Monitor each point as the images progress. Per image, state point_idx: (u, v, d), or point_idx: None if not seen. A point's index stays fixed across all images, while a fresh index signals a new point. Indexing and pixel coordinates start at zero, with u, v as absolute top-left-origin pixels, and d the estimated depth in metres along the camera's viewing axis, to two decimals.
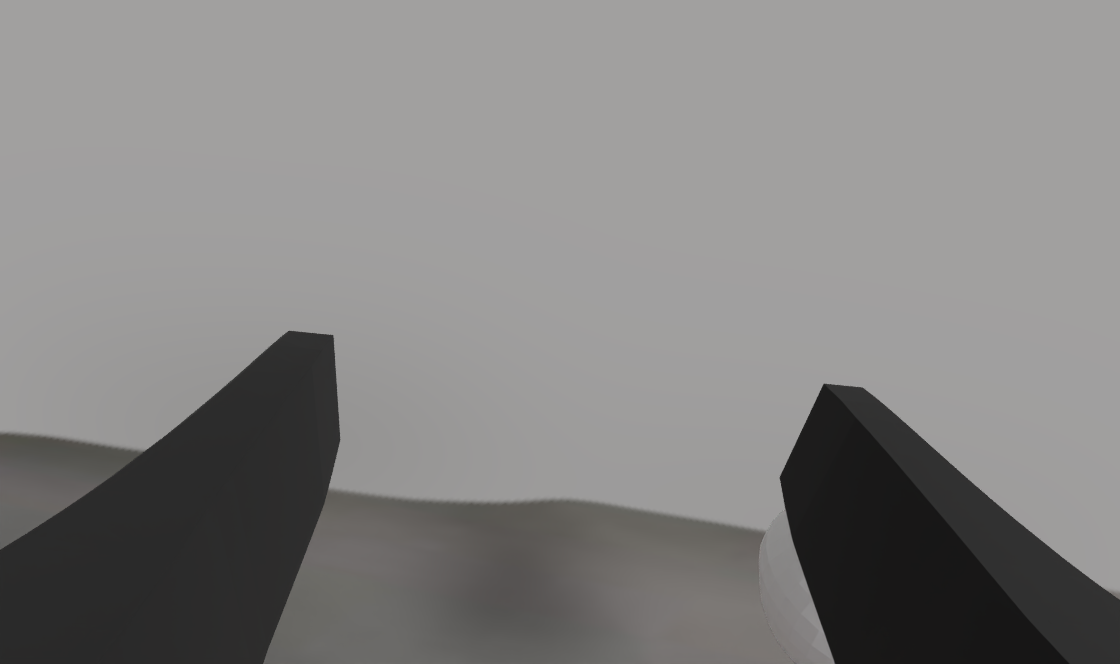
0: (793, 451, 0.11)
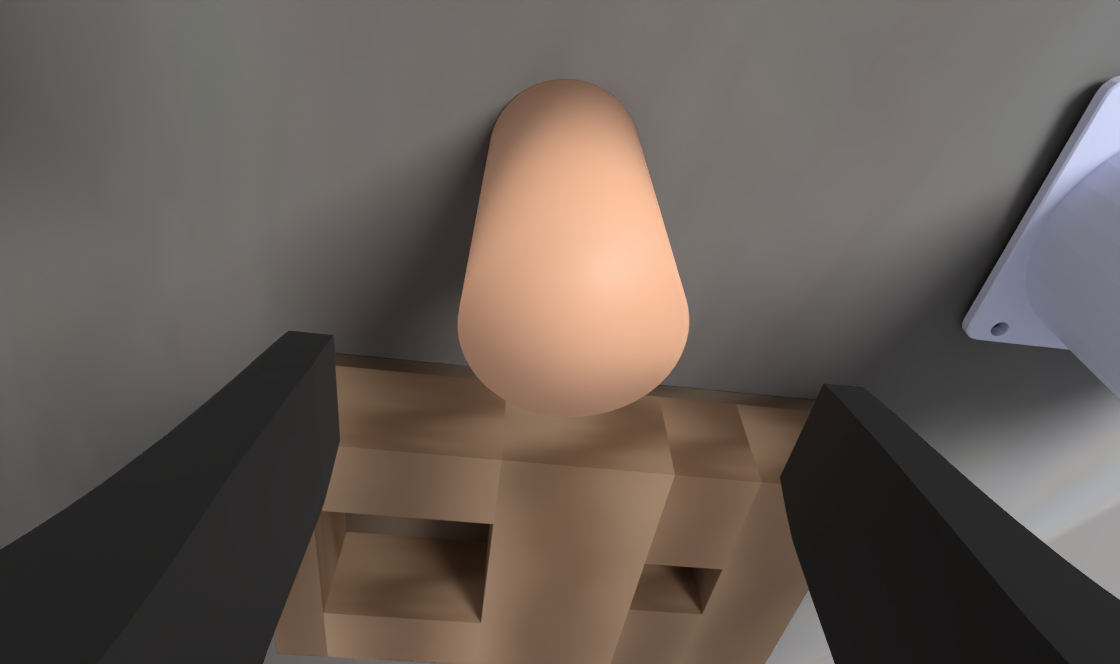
0: (793, 451, 0.11)
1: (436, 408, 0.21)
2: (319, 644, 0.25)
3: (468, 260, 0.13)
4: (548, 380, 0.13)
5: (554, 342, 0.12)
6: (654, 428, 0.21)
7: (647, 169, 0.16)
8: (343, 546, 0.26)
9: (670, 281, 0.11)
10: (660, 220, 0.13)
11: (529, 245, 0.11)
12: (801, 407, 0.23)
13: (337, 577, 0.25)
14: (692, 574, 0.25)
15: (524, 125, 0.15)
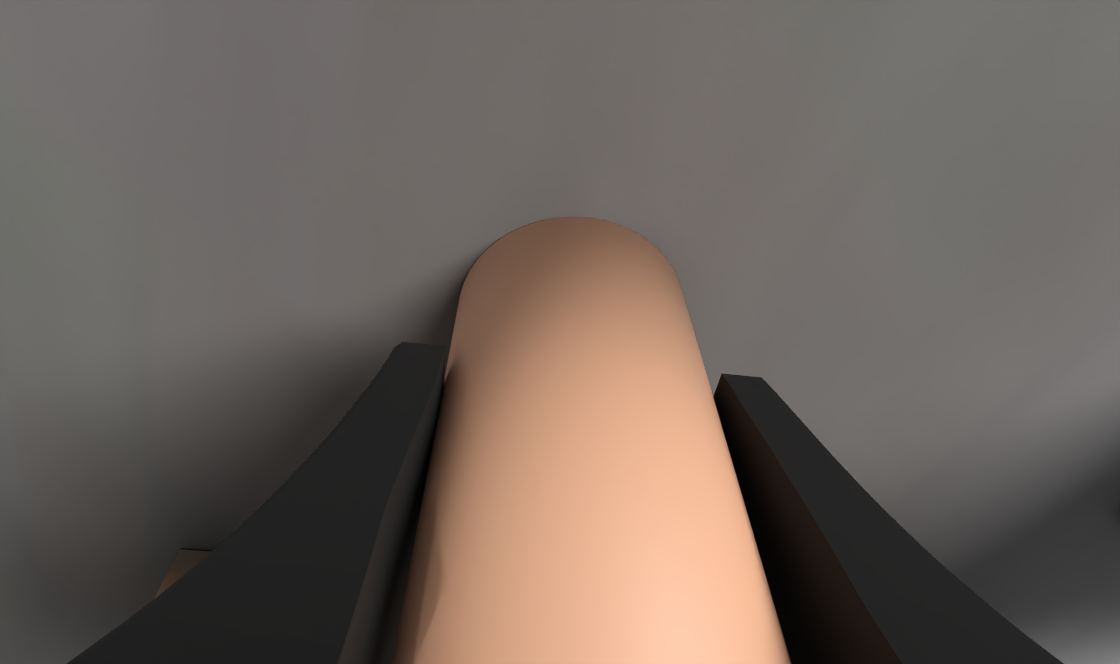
0: None
1: None
2: None
3: (393, 660, 0.07)
4: None
5: None
6: None
7: (710, 388, 0.10)
8: None
9: None
10: (756, 562, 0.07)
11: None
12: None
13: None
14: None
15: (506, 325, 0.09)
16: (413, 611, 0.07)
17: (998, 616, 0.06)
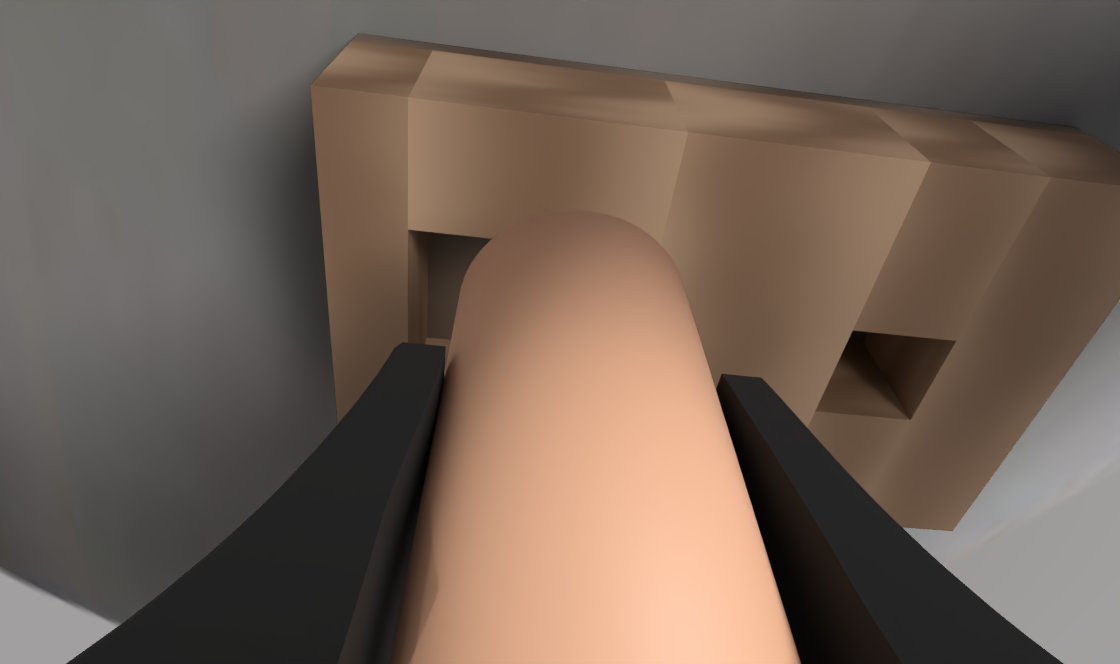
0: None
1: (579, 89, 0.15)
2: None
3: (393, 646, 0.07)
4: None
5: None
6: (878, 127, 0.15)
7: (712, 382, 0.10)
8: None
9: None
10: (762, 551, 0.07)
11: None
12: (1053, 129, 0.17)
13: None
14: (884, 380, 0.19)
15: (510, 313, 0.09)
16: (415, 596, 0.07)
17: (999, 616, 0.06)
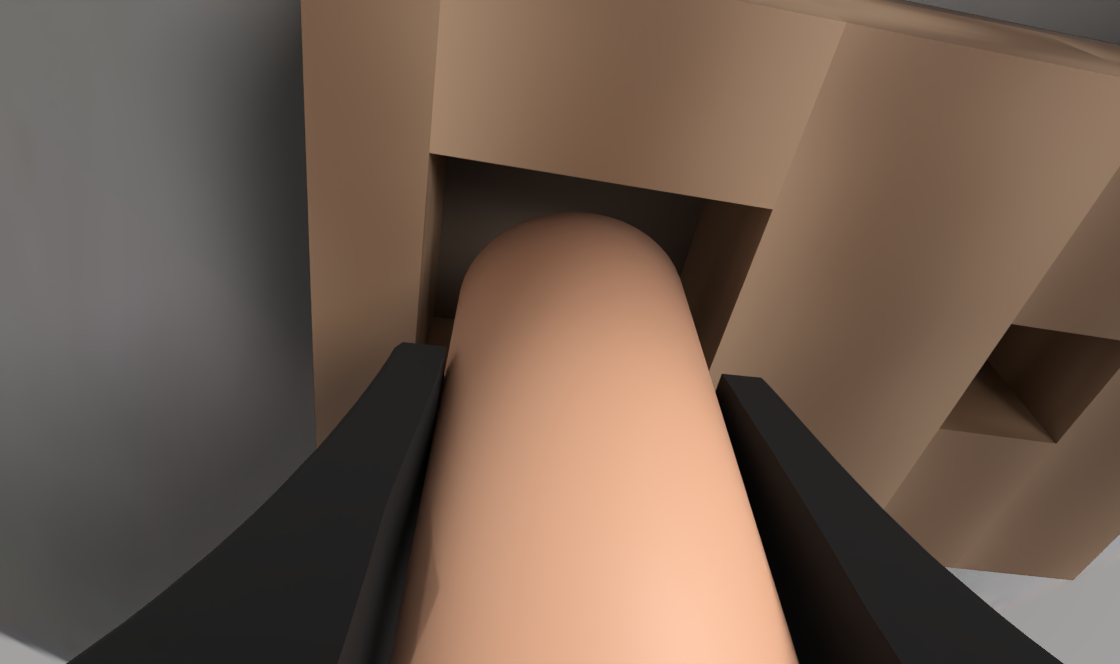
0: None
1: None
2: None
3: (393, 649, 0.07)
4: None
5: None
6: (1070, 49, 0.11)
7: (712, 383, 0.10)
8: (431, 333, 0.16)
9: None
10: (761, 553, 0.07)
11: None
12: None
13: None
14: (1011, 391, 0.15)
15: (510, 315, 0.09)
16: (414, 598, 0.07)
17: (999, 616, 0.06)
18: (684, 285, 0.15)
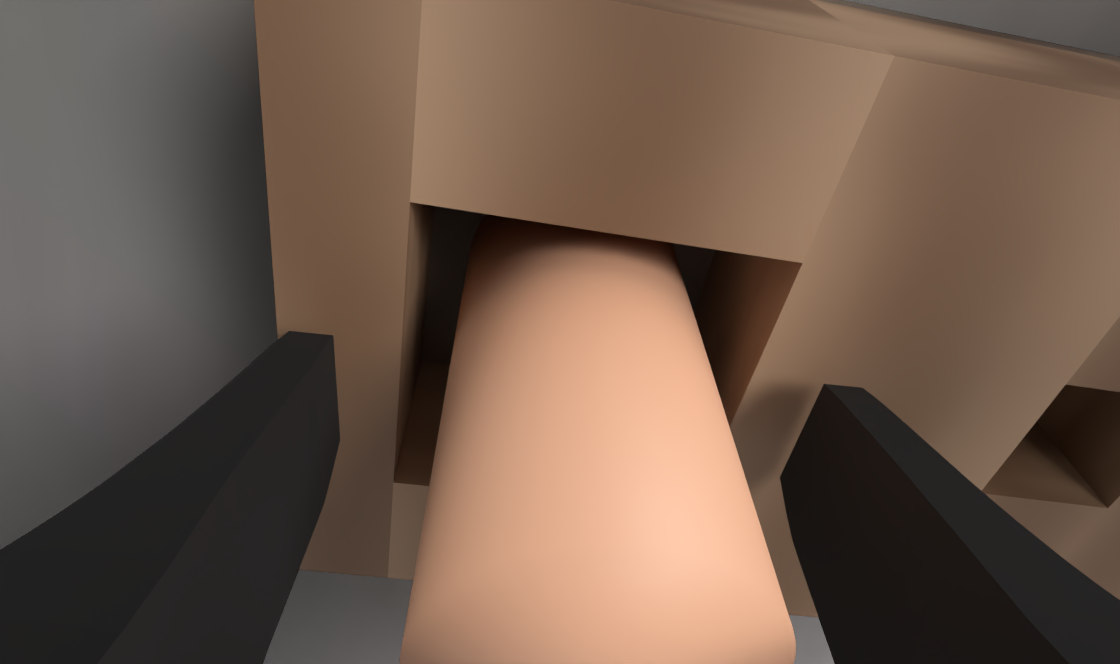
0: (793, 451, 0.11)
1: None
2: (376, 550, 0.13)
3: (423, 521, 0.08)
4: None
5: None
6: None
7: (695, 320, 0.11)
8: (419, 381, 0.14)
9: (771, 614, 0.07)
10: (732, 446, 0.08)
11: (526, 571, 0.06)
12: None
13: (413, 427, 0.13)
14: (1053, 445, 0.14)
15: (517, 259, 0.10)
16: (441, 478, 0.08)
17: None
18: None
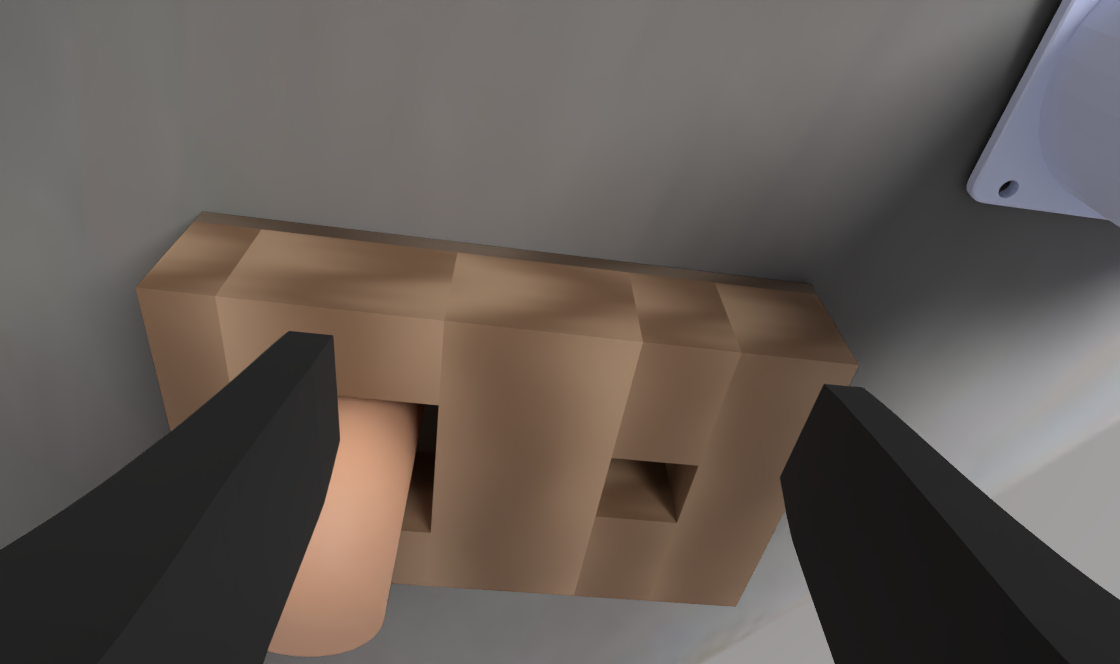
0: (793, 451, 0.11)
1: (373, 271, 0.18)
2: None
3: None
4: (289, 636, 0.17)
5: (285, 615, 0.16)
6: (621, 300, 0.19)
7: (403, 428, 0.20)
8: None
9: (357, 579, 0.16)
10: (379, 503, 0.17)
11: None
12: (787, 288, 0.21)
13: None
14: (667, 483, 0.23)
15: None
16: None
17: None
18: None
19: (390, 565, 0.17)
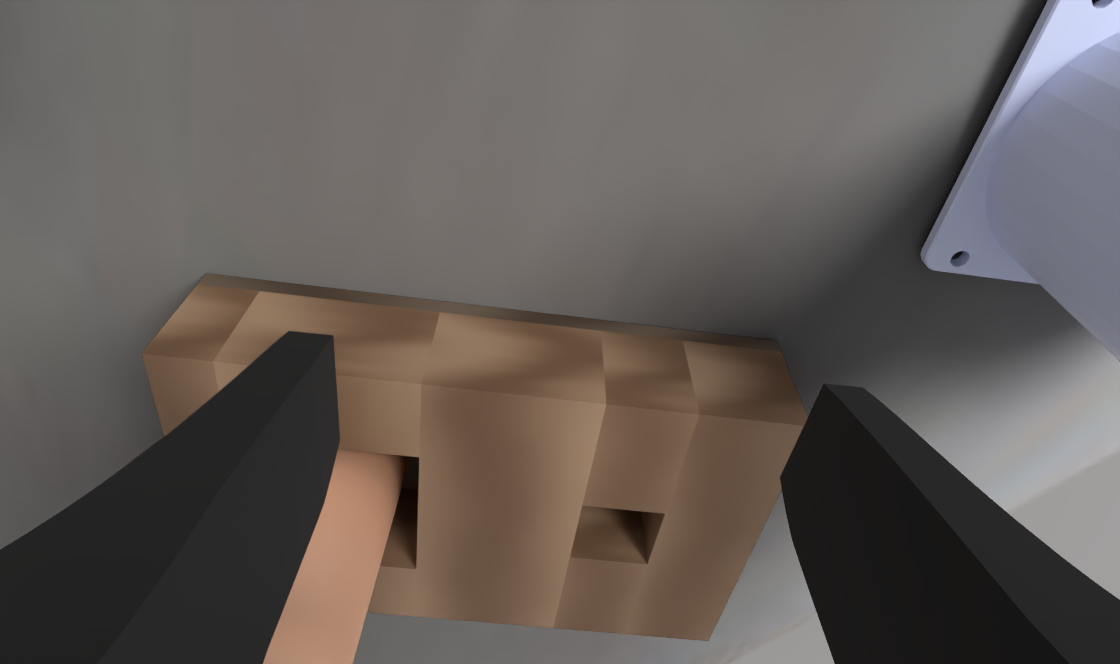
0: (793, 451, 0.11)
1: (359, 333, 0.20)
2: None
3: None
4: None
5: None
6: (591, 360, 0.20)
7: (384, 477, 0.21)
8: None
9: (324, 629, 0.17)
10: (353, 554, 0.19)
11: None
12: (752, 346, 0.22)
13: None
14: (641, 525, 0.24)
15: None
16: None
17: None
18: None
19: (361, 612, 0.18)
